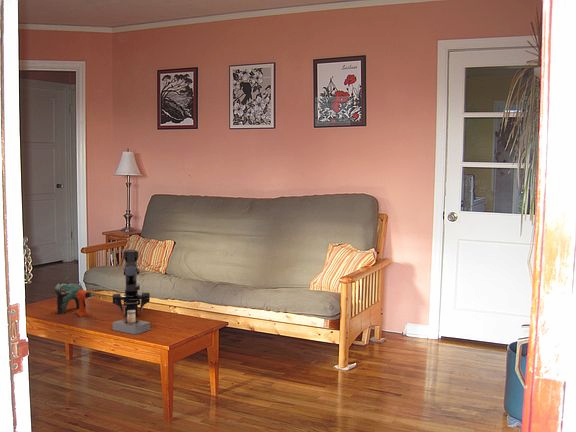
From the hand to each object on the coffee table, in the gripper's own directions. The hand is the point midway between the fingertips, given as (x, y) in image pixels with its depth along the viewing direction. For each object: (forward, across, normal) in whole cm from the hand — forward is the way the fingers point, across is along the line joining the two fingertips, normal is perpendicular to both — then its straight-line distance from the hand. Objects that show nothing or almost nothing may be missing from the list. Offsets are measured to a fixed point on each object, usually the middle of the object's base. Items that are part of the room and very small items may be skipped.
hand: (131, 312), depth 312 cm
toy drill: (-15, -24, +28) cm, 40 cm away
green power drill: (-27, -34, +40) cm, 59 cm away
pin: (+8, 0, +4) cm, 9 cm away
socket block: (+8, 0, +4) cm, 9 cm away
